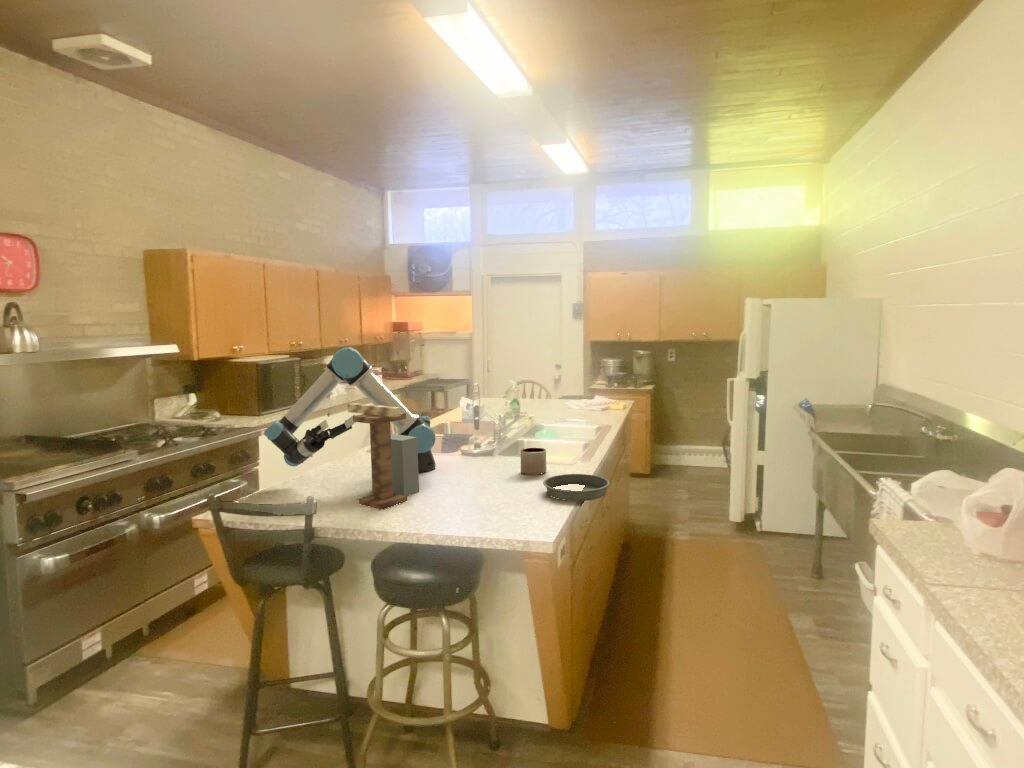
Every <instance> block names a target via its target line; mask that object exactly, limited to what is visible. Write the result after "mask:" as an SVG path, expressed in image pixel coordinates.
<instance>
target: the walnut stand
mask: <svg viewBox="0 0 1024 768" xmlns="http://www.w3.org/2000/svg"><path fill="white" fill-rule="evenodd" d="M352 416H353V415H352ZM402 419H406V413H401V416H398V417H389V416H380V415H370V414H361V413H360V414H355V416H353V422H356V423H361V424H362V423H363V424H369V435H370V436H369V439H370V441H371V445H370V463H371V465H372V469H371V488H373V490H372V494H369V495H368V496H364V497H361V498H358V505H359V504H361V505H360V506H363V505H365V506H364V507H368V506H370V507H369V508H372V507H374V508H373V509H377V508H378V509H377V510H381V509H383V510H386V509H388V507H389V508H392V507H395V506H397V505H396V504H398V505H400V504H399V503H401V504H403V502H404V503H406V501H407V502H408V495H407V496H404V495H400V494H395V493H393V483H392V458H391V434H392V433H391V422H392V421H397V420H402ZM394 505H395V506H394ZM391 506H392V507H391ZM385 508H386V509H385Z"/></svg>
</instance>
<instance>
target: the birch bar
mask: <svg viewBox="0 0 1024 768" xmlns="http://www.w3.org/2000/svg"><path fill="white" fill-rule="evenodd" d="M347 413H352V414H360V415H361V414H370V415H380V416H389V417H398V416H401V407H392V406H381V405H374V404H369V403H368V404H367V403H359V402H358V403H357V402H351V403H347Z"/></svg>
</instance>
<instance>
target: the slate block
mask: <svg viewBox="0 0 1024 768" xmlns="http://www.w3.org/2000/svg"><path fill="white" fill-rule="evenodd" d="M369 443H370V446H371V441H370V442H369ZM391 458H392V483H393V493H395V494H400V495H404V496H406V495H407V496H410V495H413V494H412V493H414V494H416V492H417V493H419V492H420V481H419V480H420V479H419V478H420V476H419V473H420V472H418V444H417V437H412V436H404V435H398V434H397V433H396V434H395V433H391ZM371 470H372V465H371ZM371 488H372V487H371ZM371 491H373V488H372V489H371ZM409 494H410V495H409Z"/></svg>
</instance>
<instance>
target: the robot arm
mask: <svg viewBox="0 0 1024 768" xmlns="http://www.w3.org/2000/svg"><path fill="white" fill-rule="evenodd" d="M343 382H346V383H347V384H348V385H349V387H355V388H357V389H358V390H359V391H360V392H361V393H362V394H363V395H364V397H366V398H367V399H368V400H369V401H370V402H371V404H372V405H381V406H392V407H401V413H406V419H402V420H397V421H392V422H390V424H392V425H393V426H394V427H395V428H396V430H397V431H396V434H397V435H404V436H412V437H417V444H418V473H424V471H426V472H430V471H429V470H431V471H433V470H432V469H434V468H435V467H437V466H436V460H435V457H434V455H433V453H432V448H433V447H434V446H435V443H436V433H435V431H434V428H432V427H431V424H432V423H431V418H430V416H428V415H427V416H426V415H425V416H424V415H423V416H420V415H419V414H418V413H413V412H411V411H410V410H409V409H408V408H407V406H405V404H404V403H403V402H402V401H400V399H399V398H398V397H397V396H396V395H395V394H394V393H393V392H392V391H391V389H389V388H388V387H387V386H386V385H385V384H384V383H383V381H381V379H379V377H378V376H377V375H375V373H374V372H373V366H372V365H371V364H370V363H369V362H368V361H367V359H366V358H365V357H364V356H363V355H362V354H361V353H360V351H359V350H358V349H356V348H355V347H352V346H343V347H340V348H338V350H336V351H335V353H334V354H333V356H332V357H331V360H330V361H329V362H328V363H327V364H326V366H325V371H324V372H322V373H321V375H319V377H318V378H317V379H316V380H315V382H313V383H312V384H311V386H310V387H309V388H308V389H307V390H306V391H305V392H304V393H303V394H302V396H300V398H299V399H298V400H297V401H296V402H295V403H294V405H293V406H291V408H290V409H289V410H288V411H287V412H286V413H285V415H284V416H282V418H281V419H280V420H275V421H273V422H272V423H271V424H270V425H269V426H268V427H267V428H266V429H264V431H263V435H264V436H265V437H266V438H267V440H269V441H270V442H271V443H272V444H273V445H274V446H276V448H278V449H279V450H280V451H281V452H282V453H283V460H284V462H285V463H286V464H287V466H289V467H294V468H295V467H298V466H300V465H301V464H303V463H305V462H306V461H307V460H308V459H310V458H312V457H313V455H314V454H316V453H317V452H319V451H320V450H321V449H323V448H324V446H325V444H326V442H327V441H328V440H330V439H332V440H333V439H335V438H336V437H338V436H340V435H342V434H343V433H345V432H348V431H349V430H351V429H353V425H354V424H356V423H357V422H353V416H356V414H353V415H351V416H350V417H349V418H348V419H346V420H344V422H343V423H341V424H339V425H337V426H335V427H333V428H328V427H329V424H328V421H327V419H323V421H321V422H320V423H319V424H318V425H316V426H315V427H313V428H311V429H307V430H306V431H305V433H304V436H303V437H302V438H301V439H300V440H299V439H298V438H297V437H296V436H295V435H294V433H295V432H296V431H297V430H298V429H299V428H300V426H301V425H302V424H303V423H304V422H305V421H306V420H307V419H308V418H309V417H310V416H311V414H312V413H313V412H314V411H315V410H316V409H317V408H318V407H319V406H320V405H321V403H323V401H325V399H326V398H327V397H328V396H329V395H330V394H331V392H332V391H333V390H335V388H336V387H337V386H338V385H339V384H340V383H343ZM435 469H436V468H435ZM435 469H434V470H435Z"/></svg>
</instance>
